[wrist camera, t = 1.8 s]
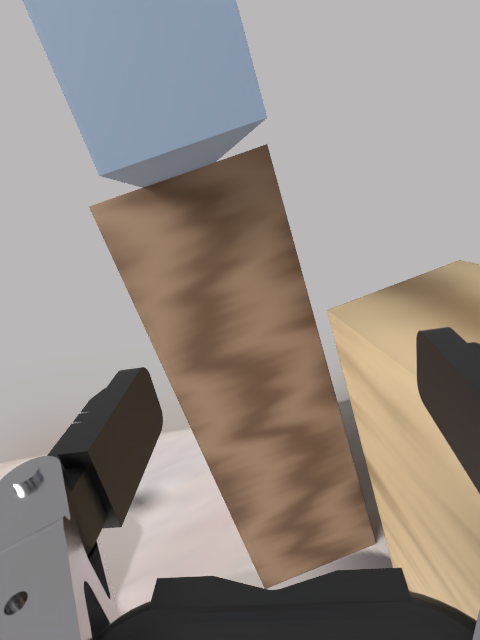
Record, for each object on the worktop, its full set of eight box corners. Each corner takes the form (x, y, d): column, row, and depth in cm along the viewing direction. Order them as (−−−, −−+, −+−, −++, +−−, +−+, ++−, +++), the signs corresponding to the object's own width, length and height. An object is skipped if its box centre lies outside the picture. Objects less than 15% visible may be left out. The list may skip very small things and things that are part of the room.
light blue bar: (196, 178, 36) (181, 135, 35) (267, 117, 8) (206, -110, 7) (158, 191, 36) (141, 149, 35) (99, 175, 8) (2, -46, 7)
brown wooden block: (305, 421, 48) (224, 168, 37) (375, 543, 31) (267, 144, 20) (233, 449, 47) (129, 201, 36) (265, 589, 31) (89, 206, 19)
